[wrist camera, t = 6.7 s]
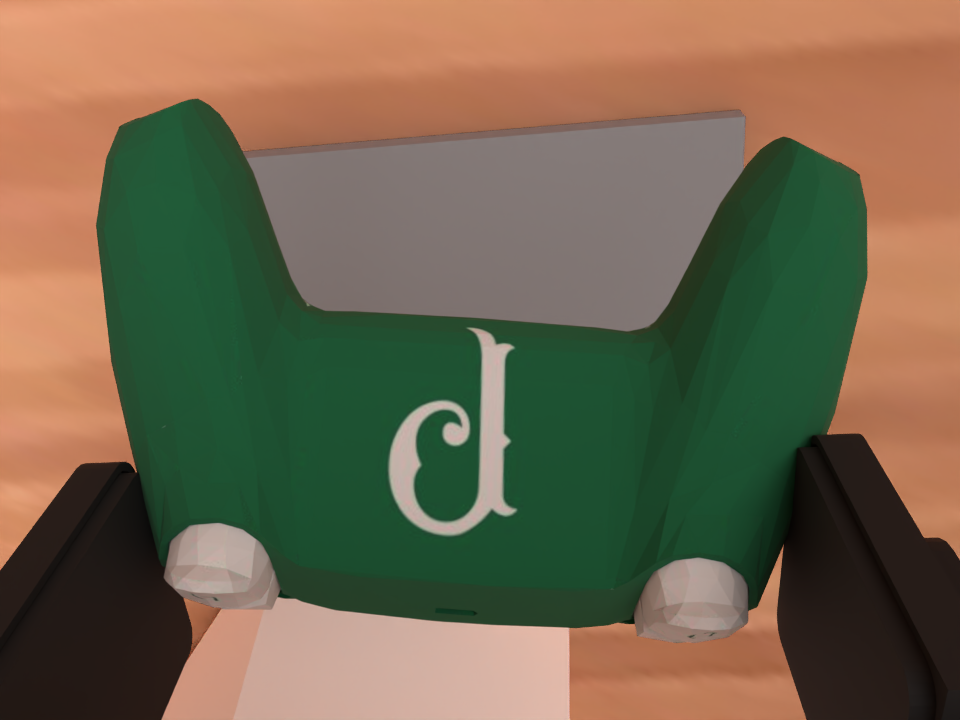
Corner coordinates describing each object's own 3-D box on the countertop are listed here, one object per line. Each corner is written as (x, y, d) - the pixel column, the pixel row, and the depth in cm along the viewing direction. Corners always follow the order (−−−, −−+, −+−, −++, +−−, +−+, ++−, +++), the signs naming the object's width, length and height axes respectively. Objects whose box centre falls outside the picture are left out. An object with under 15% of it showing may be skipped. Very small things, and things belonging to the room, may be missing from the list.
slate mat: (739, 109, 26) (745, 116, 25) (725, 484, 32) (730, 498, 31) (191, 155, 27) (182, 163, 27) (276, 508, 33) (271, 522, 33)
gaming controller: (193, 207, 14) (125, 601, 13) (97, 66, 11) (-16, 592, 9) (782, 247, 14) (791, 650, 13) (887, 116, 11) (920, 661, 9)
